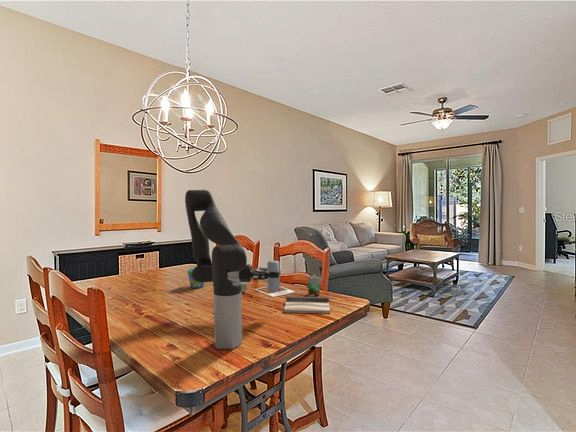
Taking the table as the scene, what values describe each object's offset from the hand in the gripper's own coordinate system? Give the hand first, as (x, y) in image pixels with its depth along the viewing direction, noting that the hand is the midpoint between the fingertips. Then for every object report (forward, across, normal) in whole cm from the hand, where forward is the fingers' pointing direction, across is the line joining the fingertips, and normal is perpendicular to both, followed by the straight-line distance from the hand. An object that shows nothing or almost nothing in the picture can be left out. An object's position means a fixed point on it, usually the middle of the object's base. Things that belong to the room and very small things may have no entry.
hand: (279, 273), depth 131 cm
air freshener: (-27, +34, +18) cm, 47 cm away
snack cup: (-53, +44, +18) cm, 71 cm away
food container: (+15, +30, +18) cm, 38 cm away
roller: (-3, 0, +7) cm, 7 cm away
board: (+11, +10, +18) cm, 23 cm away
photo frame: (-7, +37, +18) cm, 42 cm away
